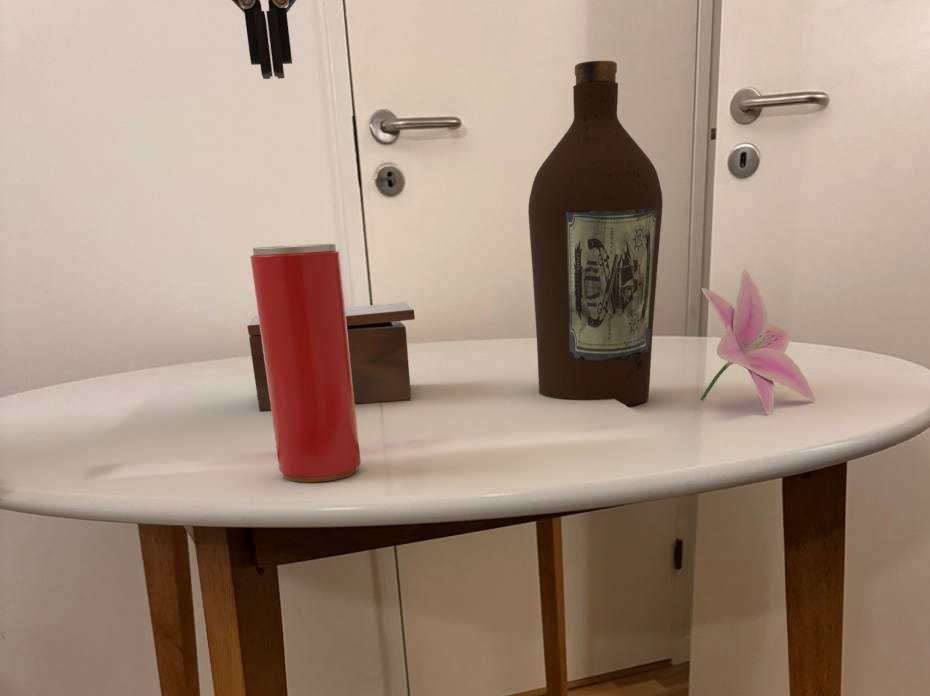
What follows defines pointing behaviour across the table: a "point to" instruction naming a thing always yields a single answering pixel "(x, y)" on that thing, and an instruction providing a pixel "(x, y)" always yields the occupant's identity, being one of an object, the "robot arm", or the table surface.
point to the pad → (320, 477)
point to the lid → (361, 315)
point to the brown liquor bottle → (595, 252)
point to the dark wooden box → (359, 364)
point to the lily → (755, 344)
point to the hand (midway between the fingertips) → (273, 75)
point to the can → (307, 358)
